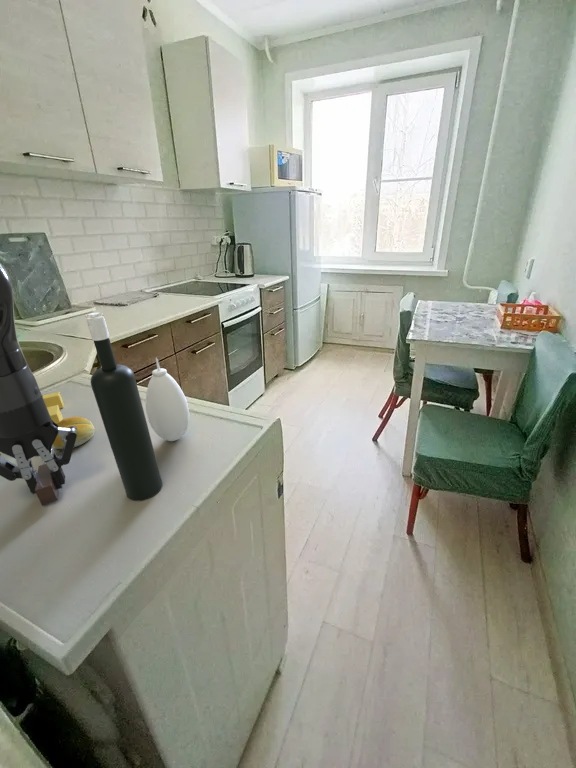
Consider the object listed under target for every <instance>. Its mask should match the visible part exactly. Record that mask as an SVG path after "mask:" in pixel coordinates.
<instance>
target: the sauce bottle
mask: <svg viewBox="0 0 576 768" xmlns="http://www.w3.org/2000/svg"><path fill="white" fill-rule="evenodd" d="M155 364H156V369H153V370H152V371H151V375H152V376H151V377H150V378H149V382H148V385H147V388H146V393H145V413H146V416H147V419H148V423H149V425H150V427H151V429H152V430H153V432H154V433H155V434H156V435H157V437H159V438H160V439H162V440H165V441H167V442H174V441H177V440H179V439H181V438H182V437H183V436H184V435H185V434H186V432H187V431H188V428H189V424H190V418H191V416H190V415H191V414H190V409H189V404H188V403H189V402H188V400H187V397H186V395H185V393H184V391H183V389H182V388H181V386H180V385H179V384H178V382H177V381H176V380H175V379H174V377H173V376H171V375H170V374H169V373H168V370H167V369H166V368H163V367H161V366H160V361H159V359H158V357H155Z"/></svg>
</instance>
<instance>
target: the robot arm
mask: <svg viewBox="0 0 576 768" xmlns="http://www.w3.org/2000/svg"><path fill="white" fill-rule="evenodd" d="M14 304H15V303H14V288H13V282H12V279H11V276H10V273H8V270H7V269H6V267H5V266H4V265H3V263H1V262H0V476H1V477H3V478H4V479H5V480H8V481H10V482H13V481H15V480H18V479H23V480H24V481H25V483H26V485H27V487H28V489H29V491H30V493H31V494H32V495H35V494H36V492H35V486H36V481H37V475H38V470H36V469H35V470H34V465H33V462H32V458H34V457H40V459H41V460H42V461H43V463H44V464H45V463H46V464H47V466H48V468H49V469H50V474H51V477H52V478H53V480H54V483H55V485H56V487H57V489H58V490H60V489H63V485H65V484H66V475H65V473H64V470H63V468H62V467H63V466H66V465H68V464H70V463H71V462H70V461H71V458H72V454H73V452H74V448H75V447H74V444H75V441H76V437H77V428H76V427H75V426H70V427H69V428H62V427H58V425H57V424H56V423H55V422H53V420H52V419H51V417H50V414H49V412H48V409H47V407H46V404H45V402H44V399H43V397H42V395H43V394H42V392H41V389H40V387H39V384H38V382H37V379H36V377H35V375H34V373H33V371H32V370H31V368H30V367H29V364H28V362H27V360H26V357H25V355H24V353H23V349H22V348H21V344H20V342H19V339H18V336H17V330H16V329H17V327H16V321H15V305H14ZM57 435H60V436H61V440H62V441H63V442H65V443H64V447H63V449H61V454H60V455H57V452H56V453H55V452H54V448H53V447H52V445H53V443H54V441H55V439H56V437H57ZM1 453H2V454H4V455H6V456H8V457H11V458H13V459H15V462H16V464H14V463H13V462H11V461H10V460H8V459H6V458H5V457H3V456H1V455H2V454H1Z"/></svg>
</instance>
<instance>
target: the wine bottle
mask: <svg viewBox="0 0 576 768" xmlns="http://www.w3.org/2000/svg"><path fill="white" fill-rule="evenodd" d="M84 317H85V321H86V323H87V327H88V330H89V334H90V337H91V340H92V341H93V343H94V347H95V350H96V354H97V357H98V358H97V359H98V362H99V364H100V367H99V368H98V369H97V370H95V371H94V372H93V373H92V375H91V376H90V387H91V389H92V392H93V395H94V398H95V402H96V405H97V408H98V411H99V414H100V417H101V421H102V423H103V426H104V430H105V433H106V435H107V439H108V442H109V445H110V448H111V452H112V454H113V457H114V460H115V464H116V467H117V470H118V474H119V476H120V479H121V482H122V486H123V488H124V491H125V495H126V497H127V498H128V499H129V500H131V501H135V502H139V501H146V500H148V499H151V498H152V497H154V496H156V495H157V494H159V492H160V491H161V489H162V487H163V480H162V476H161V472H160V469H159V464H158V460H157V457H156V453H155V449H154V446H153V445H154V444H153V442H152V437H151V435H150V431H149V430H150V429H149V426H148V422H147V418H146V415H145V410H144V407H143V403H142V399H141V396H140V395H141V394H140V392H139V388H138V383H137V380H136V375H135V373H134V371H133V370H132V369H131V367H129V366H127V365H124V364H120V363H119V364H118V363H117V361H116V357H115V354H114V349H113V346H112V343H111V340H110V337H111V336H110V332H109V330H108V325H107V322H106V319H105V315H104V312H97V311H96V312H91V313H88V314H84Z"/></svg>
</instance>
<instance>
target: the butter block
mask: <svg viewBox="0 0 576 768" xmlns="http://www.w3.org/2000/svg"><path fill="white" fill-rule="evenodd" d="M47 409H48V412H49V414H50V417H51V419H52V420H53V422H55V423H56V424H57V423H58V422H60V421H61V420H63V419H64V417H63V415H62V412H61V410H60V409H61V408H60V409H59V406H58V405H55V406H51V407H47Z"/></svg>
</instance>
